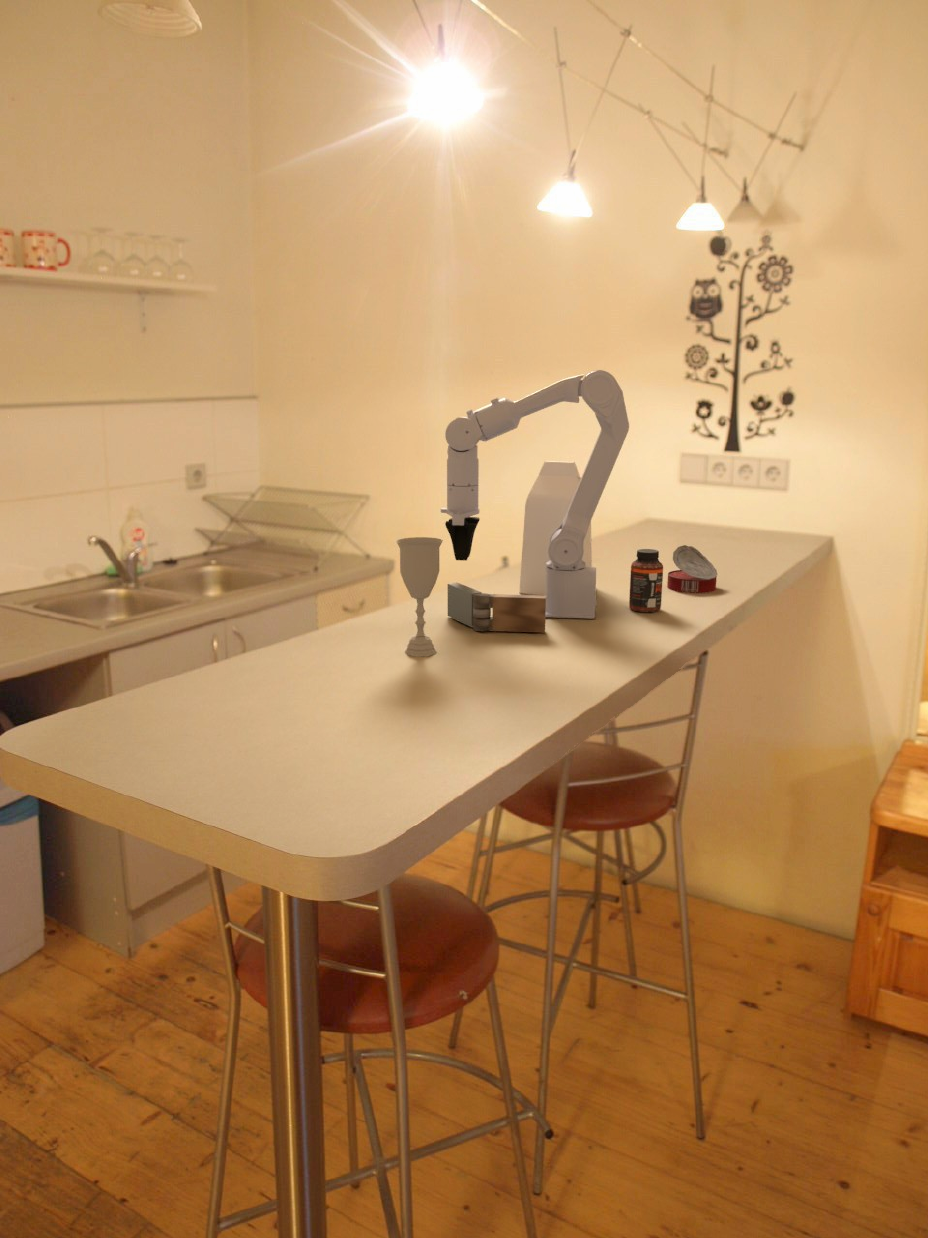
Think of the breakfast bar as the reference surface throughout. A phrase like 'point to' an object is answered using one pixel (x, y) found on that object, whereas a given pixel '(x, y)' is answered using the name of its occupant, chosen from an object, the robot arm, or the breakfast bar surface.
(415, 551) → the chalice
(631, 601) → the supplement bottle
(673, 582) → the canned food
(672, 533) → the breakfast bar surface
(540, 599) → the fixed leaf
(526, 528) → the milk
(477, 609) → the swing leaf
